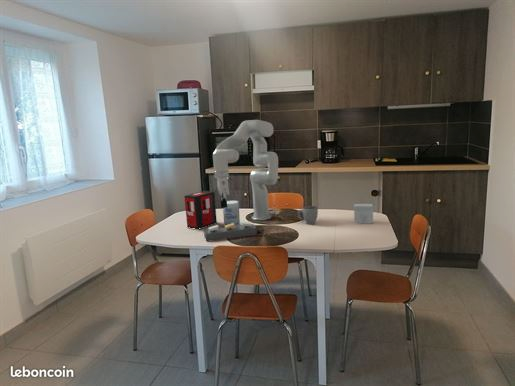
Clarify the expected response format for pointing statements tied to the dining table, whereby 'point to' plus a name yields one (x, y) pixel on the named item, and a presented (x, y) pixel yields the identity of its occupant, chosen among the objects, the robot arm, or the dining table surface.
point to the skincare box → (363, 213)
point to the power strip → (231, 232)
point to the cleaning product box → (200, 209)
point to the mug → (309, 214)
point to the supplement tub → (231, 213)
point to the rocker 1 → (213, 228)
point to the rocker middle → (229, 225)
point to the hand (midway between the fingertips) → (224, 207)
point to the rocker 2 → (245, 224)
